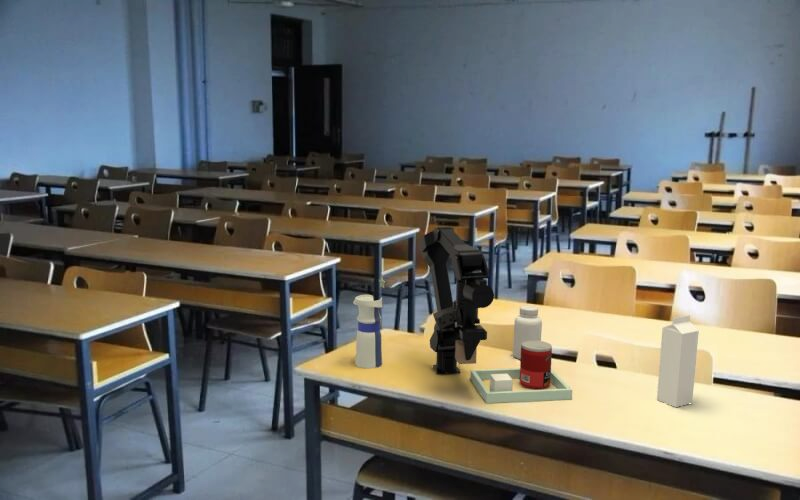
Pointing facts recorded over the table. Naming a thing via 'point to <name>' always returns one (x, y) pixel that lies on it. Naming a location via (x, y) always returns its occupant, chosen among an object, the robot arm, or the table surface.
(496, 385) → the white block
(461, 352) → the brown carton
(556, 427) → the table surface
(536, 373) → the canned food
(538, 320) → the pill bottle
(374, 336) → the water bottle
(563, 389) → the mint green rectangular frame
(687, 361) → the milk
